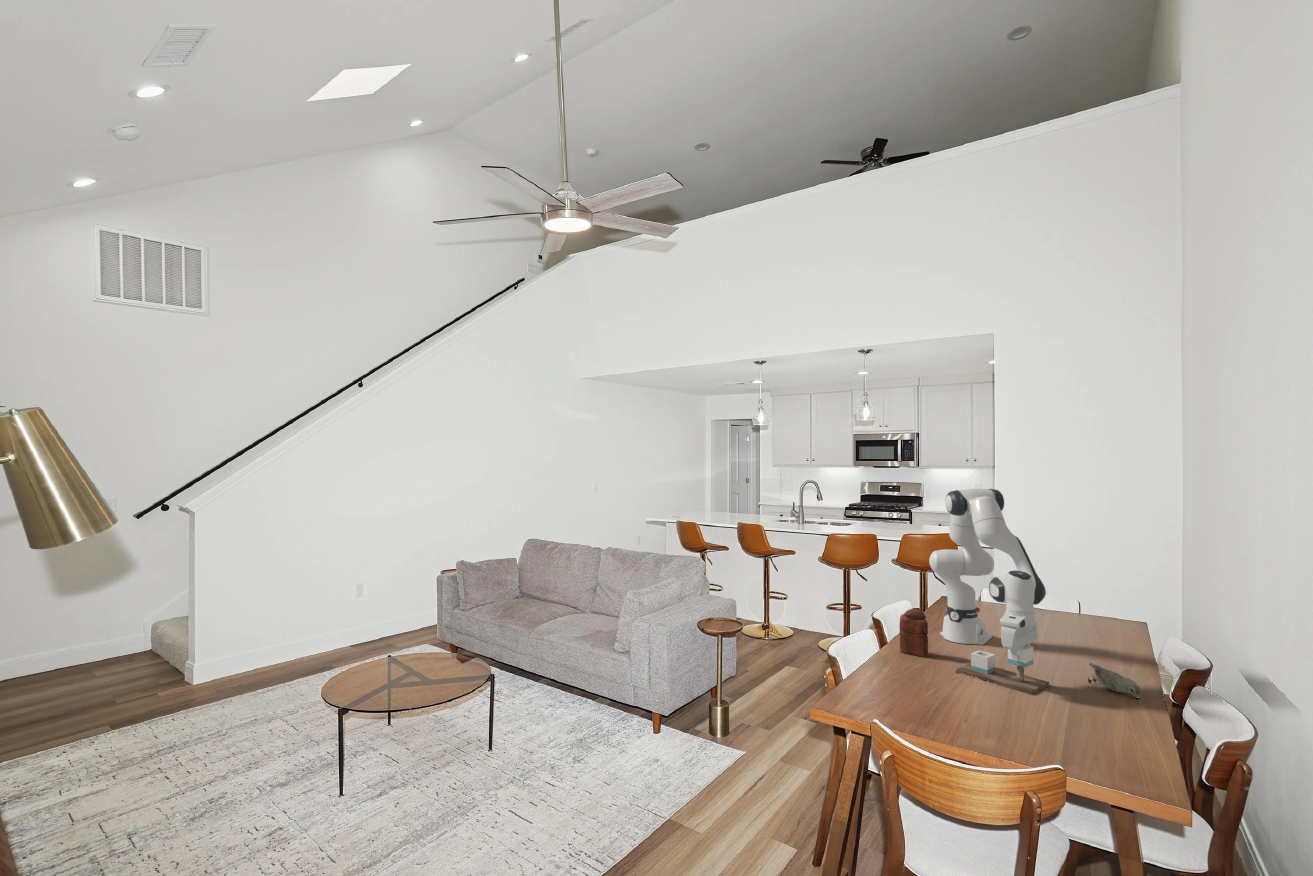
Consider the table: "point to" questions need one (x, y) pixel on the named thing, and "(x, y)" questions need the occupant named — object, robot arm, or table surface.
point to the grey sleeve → (983, 662)
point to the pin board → (1008, 678)
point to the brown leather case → (914, 633)
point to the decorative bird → (1114, 681)
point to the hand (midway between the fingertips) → (1020, 657)
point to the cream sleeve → (1022, 656)
